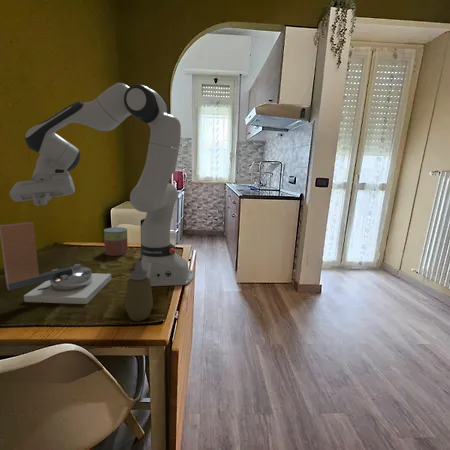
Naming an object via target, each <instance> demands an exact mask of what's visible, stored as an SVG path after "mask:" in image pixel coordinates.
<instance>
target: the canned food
mask: <svg viewBox="0 0 450 450" xmlns="http://www.w3.org/2000/svg"><path fill="white" fill-rule="evenodd" d="M103 239H104V240H103V241H104V254H105V255H108V256H121V255H125V254H127V253H128V252H129V250H128V248H129V247H128V244H129V243H128V228H126V227H120V226H118V227H117V226H116V227H115V226H114V227H108V228H104V229H103Z"/></svg>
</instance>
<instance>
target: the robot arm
mask: <svg viewBox="0 0 450 450" xmlns="http://www.w3.org/2000/svg"><path fill="white" fill-rule="evenodd" d="M167 103H168V102H167V101H166V100H165V99H164V98H163V97H162V96H160V94H159V93H157V91H155V90H153V89H151V88H149V87H148V86H146V85H144V84H140V83H139V84H133V85H130V86H128V85H127V84H125V83H123V82H116V83H115V84H113V85H111V86H109V87H107V89H105V90H104V91H102V93H100V94H99V95H98V96H97V97H96V98H95V99H93V100H91V101H88V102H82V101H76V102H73V103H71V104H70V105H67V106H66V107H64V108H63V109H61V110H59V111H58V112H56V113H55V114H53V115H52V116H50V117H48V118H47V119H45V120H43V121H42V122H40V123H38V124H36V125H33V126H32V127H30V128H29V129H28V130H27V131H26V133H25V136H24V140H25V143H26V146H27V148H28V149H29V150H32V151H34V152H36V153H38V154H39V156H38V158H37V161H36V164H35V168H34V170H33V173H32V176H31V180H23V181H21V180H20V181H18V182H16V183H15V184H14V185H13V186H12V188H11V189H10V191H9V197H10V198H11V199H12V200H13V201H14V202H15V203H19V202H27V201H33V204H34V206H36V207H38V206H45V205H48V202H50V200H52V199H53V198H57V197H58V198H59V197H63V196H65V197H66V196H70V195H74V194H75V190H76V189H75V184H74V181H73V178H72V176H71V174H70V172H71V171H73V170H74V169H75V168H76V167H78V165H79V163H80V160H81V152H80V149H79V148H78V147H77V146H75V145H74V144H72V143H70V142H69V141H68V140H66V139H65V138H63V137H62V136H60V135H59V134H57V133H56V132H57V131H59V130H61V129H62V128H64V127H65V126H67V125H69V124H72V123H75V124H76V123H77V124H80V125H84V126H87V127H89V128H92V129H94V130H96V131H99V132H100V131H102V132H109V131H113V130H115V129H116V128H117V127H119V126H120V124H122V123H123V122H124V121H125V120H126V119H127V118H128V117H130V116H133V117H134V118H136V119H138V120H139V121H141V122H142V123H145V124H148V126H149V128H150V136H149V140H148V141H149V142H148V148H147V149H148V150H147V155H146V159H145V163H144V164H145V165H144V167H143V170H142V172H141V175H140V177H139V179H138V181H137V184H136V185H135V186H134V187H133V189H132V190H131V192H130V194H129V200H130V204H131V206H132V207H133V208H134V209H135V210H136V211H138V212H142V213H146V215H145V218H144V219H145V220H144V222H143V224H142V244H141V243H140V258H141V264H142V268H143V270H146V271H147V277H148V278H149V279H150V282H151V287H164V286H166V287H167V286H187V285H189V284H191V283H192V282H193V280H194V279H195V278H194V277H195V276H194V275H195V272H194V271H193V270H191V269H189V264H188V261H187V260H186V259H184V258H183V257H182V256H180V255H179V254H178V253H177V252H176V244H173V243H171V225H172V220H173V219H172V218H173V214H174V210H175V204H176V202H177V199H178V196H179V193H178V189H177V188H176V186H175V185H174V184H172V183H169V182H170V180H171V178H172V176H173V174H174V173H175V171H176V168H177V164H178V163H177V162H178V157H179V153H180V145H181V136H182V135H181V133H182V132H181V131H182V128H181V127H182V126H181V122H180V120H179V119H178V118H177V117H175V115H172V114H170V109H169V105H168V104H167Z"/></svg>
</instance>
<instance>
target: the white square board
mask: <svg viewBox="0 0 450 450" xmlns="http://www.w3.org/2000/svg"><path fill="white" fill-rule="evenodd" d="M111 280H112V273H98V272H97V273H93V272H92V282H91V284H89V285H88V286H86V287H84V288H81V289H77V290H73V291H55V290H53V289H51V287H50V280H48V281H45V282H41V283H40V284H39V285H38V286H36V287H35V288H33V289H32V290H30V291H29V292H27V293H26V294H24V295H23V300H24V303H42V302H43V303H46V304H47V303H48V304H49V303H50V304H69V305H70V304H73V305H75V304H76V305H87V304H88V303H90V301H92V299H93V298H95V297H96V295H98V293H99V292H100V291H101V290H102V289H103V288H104V287H105V286H106V285H108V283H109V282H110V281H111Z"/></svg>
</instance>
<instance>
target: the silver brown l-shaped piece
mask: <svg viewBox="0 0 450 450" xmlns="http://www.w3.org/2000/svg"><path fill="white" fill-rule="evenodd" d="M36 240H37V239H36V233H35V224H34V222H32V221H29V222H28V221H27V222H17V223H10V224H0V245H1V253H2V259H3V267H4V274H5V275H4V277H5V283H6V288H7V290H8V291H13V290H16V289H20V288H25V287H28V286H32V285H36V284H42V283H44V282H46V281H48V280H50V287H51V289H53V290H55V291H73V290H77V289H81V288H84V287H86V286H88V285H89V284H91V282H92V273H93V272H92V269H91V268H89V267H86V266H82V264H80V263H76V264H73V266H68V267H63V268H54V269H51V271H46V272H42V273H40V271H39V261H38V252H37V251H38V250H37V243H36V242H37V241H36Z"/></svg>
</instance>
